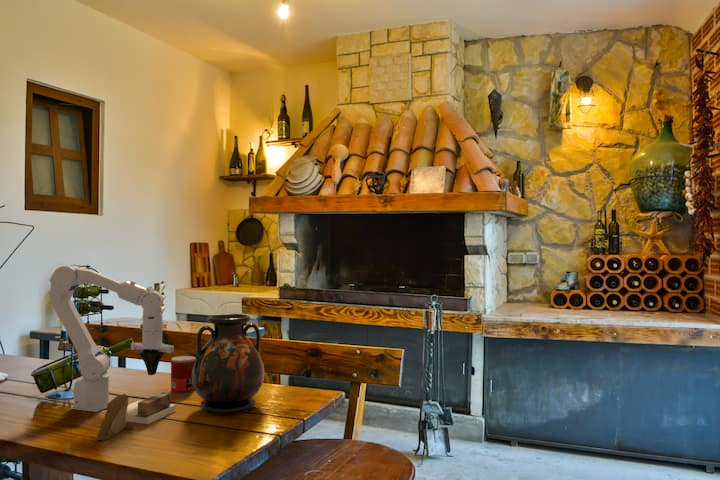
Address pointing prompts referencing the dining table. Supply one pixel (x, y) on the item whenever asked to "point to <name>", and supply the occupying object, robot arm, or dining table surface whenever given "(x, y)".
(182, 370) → the canned food
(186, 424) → the dining table surface
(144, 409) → the stool leg
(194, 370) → the amphora vase
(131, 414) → the stool seat
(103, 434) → the rock
